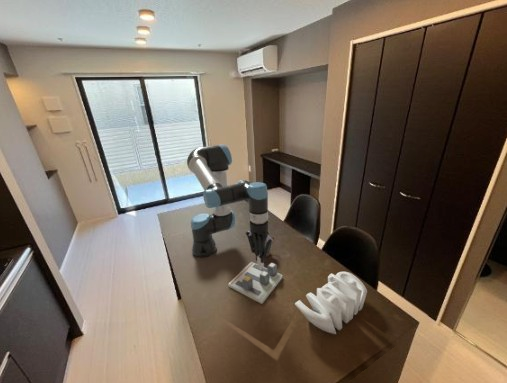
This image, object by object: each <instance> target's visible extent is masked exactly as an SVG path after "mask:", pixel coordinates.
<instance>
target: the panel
mask: <svg viewBox="0 0 507 383" xmlns="http://www.w3.org/2000/svg"><path fill="white" fill-rule="evenodd" d="M246 276H249V277H251V278H252V279H253V287H252V288H251V289H250V290H249V291H247V290H245V289H243V284H242V280H243V279H244V278H245V277H246ZM282 279H283V274H281V273H279V272H278V264H276V263H274V262H270V263H269V264H268V265H267V267H265V266H264V267H263V268H262V269H261V270H260V269H258V265H257V263H255V262H253V261H251V262H249V263H248V264H247V265H246V266H245V267H244V268H243V269H242V270H241V271H240V272H239V273H238V274H237V275H235V277H234V278H233V279H232V280H231V281H229V283H228V287H229V288H231V289H233V290H234V291H237V292H238V293H240V294H242V295H244V296H246V297H248V298H249V299H251V300H253V301H255V302H257V303H259V304H264V302H265V301H266V300H267V298H268V296H269V295H270V294H271V293H272V292H273V290H274V289H275V288H276V287H277V285H278V284H279V283H280V281H282Z"/></svg>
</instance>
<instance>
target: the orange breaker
mask: <svg viewBox="0 0 507 383" xmlns="http://www.w3.org/2000/svg"><path fill="white" fill-rule="evenodd" d="M242 284H243V289H245V290H247V291H249V290H250V289H251V288H252V287H253V279H252V278H251V277H249V276H246V277H245V278H244V279H243V280H242Z"/></svg>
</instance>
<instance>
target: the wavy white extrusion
mask: <svg viewBox="0 0 507 383" xmlns="http://www.w3.org/2000/svg"><path fill="white" fill-rule="evenodd" d="M367 293H368V290H367V287H366V286H365V284H364V283H363V282H362V281H361V280H360V279H359V278H358V277H357V276H355V275H354V274H353V273H351V272H348V271H339V272H337V273H336V274H334V273H330V274H329V275H328V276H327V283H325V284H324V285H323V286H322V287H317V288H316V295H315V294H314V293H312V292H308V293H307V294H306V295H305V296H306V299H307V300H308V302H309V304H310V306H311V308H312V309H311V308H309V307H308V306H306V305H305V303H303V302H302V300H301V299H299V300H297V301H296V302H295V303H294V305H295V306H296V307H297V309H298V310H299V311H300V313H302V314H303V316H304V317H305V318H306V319H307V320H308V321H309V322H310V323H311V324H312V325H313V326H315V327H317V328H318V329H320V330H321V331H324V332H326V333H329V334H332V335H337V332H336V330H338V331H341V330H342V329H343V322H344V323H345V324H348V323H349V322H350V321H351V320H353V318H354V316H356V315H357V314H358V312H360V311H361V310H362V309H363V307H364V304H365V301H366V296H367V295H368V294H367Z"/></svg>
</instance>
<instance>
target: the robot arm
mask: <svg viewBox="0 0 507 383" xmlns="http://www.w3.org/2000/svg"><path fill="white" fill-rule="evenodd" d="M232 158H233V157H232V153H231V151H230V149H229V147H228V146H227V145H226V144H214V145H207V146H199V147H196V148H194V149H193V150H192V151H191V152H190V153H189V155H188V157H187V159H186V165H187V168H188V170H189V171H190V172H191V173H193V174H194V176H195V177H196V179H197V181H198V182H199V184H200V185H201V187H202V189H203V190H204V191H203V193H202V194H203V195H202V197H203V201H204V205H205V207H206V208H208V209H212V210H211V211H212V214H210V213H208V212H207V213H206V212H205V213H204V212H202V213H199V214H196V215H195V216H193V217H192V218H191V220H190V229H191V235H192V239H193V242H192V247H191V253H192V254H193V256H194V257H198V258H204V257H205V258H206V257H209V256H210V255H213V254H214V253H215V252H216V251H217V243H216V242H215V240H214V237H213V235H214V234H217V233H220V232H224V231H228V230H230V229H231V230H232V229H233V228H234V227H235V224H236V216H235V213H234V211H233V210H232V208H231V207H229V205H230V204H235V203H239V202H242V201H245V202H246V203H248V212H249V213H248V214H249V215H248V216H249V230H248V231H246V232H245V235H246V237H247V240H248V243H249V247H250V250H251V253H252V254H254V255H255V260H256V261H257V262H256V264H257V265H258V269H260V270H261V269H262V268H263V267H265V264H264V262H266V258H267V257H268V256H270V254H269V252H270V253H271V251H270V250H271V248H272V247H271V246H272V244H273V243H272V241H273V242H274V240H275V238H274V237H271V236H270V234H269V210H268V209H269V204H268V203H269V200H268V198H269V196H268V195H269V193H268V186H267V184H266V183H264V182H261V181H256V182H255V181H254V182H250V181H249V180H245V179H241V180H238V181H237V182H236V183H235V184H229V185H228V179H227V171H228V170H229V168H230V167H229V166H230V165H232V162H233V159H232ZM266 238H267V243H266V247H265V241H266Z"/></svg>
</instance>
